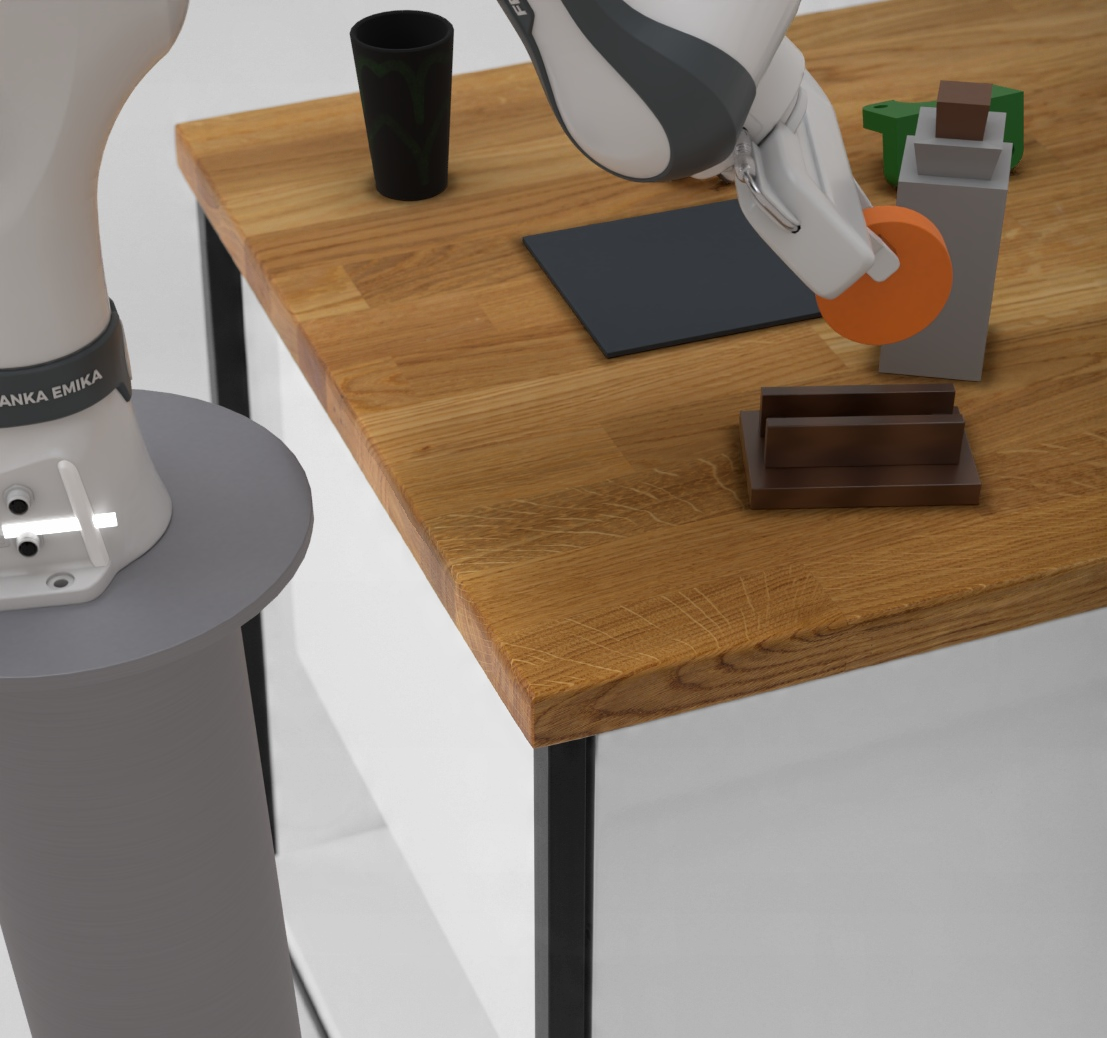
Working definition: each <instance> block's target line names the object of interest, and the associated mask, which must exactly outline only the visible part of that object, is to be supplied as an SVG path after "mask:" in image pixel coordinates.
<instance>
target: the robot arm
mask: <svg viewBox="0 0 1107 1038" xmlns="http://www.w3.org/2000/svg"><path fill="white" fill-rule="evenodd" d="M190 2H191V0H0V612H1V611H11V610H22V609H32V608H42V607H53V606H63V605H73V604H82V603H87V602H90V601H93V600H95V599H96V598H98V597H99V596H100V595H101V594H102V593H103V592H104V591H105V590H106V588H107V587H108V586H109V584H110V583H111V581H112V580H113V578H114V577H115V575H116V574H117V573H118V572H119V571H120V570H121V569H123V568H124V567H125V566H127V565H128V564H130V563H131V562H133V561H134V560H136V559H137V558H139V557H140V556H142V555H143V554H144V553H146V552H147V551H148V550H149V549H150V548H151V547H152V546H153V545H155V544H156V542H157V541H158V540H159V539H160V538H161V537H162V535H163V534H164V532H165V531H166V529H167V527H168V525H169V523H170V520H171V516H172V501H171V497H170V495H169V492H168V491H167V489H166V487H165V485H164V484H163V482H162V480H161V478H160V476H159V474H158V472H157V470H156V469H155V466H154V464H153V462H152V459H151V457H150V455H149V452H148V450H147V447H146V444H145V442H144V439H143V436H142V434H141V431H140V428H139V425H138V422H137V418H136V415H135V412H134V409H133V406H132V402H131V397H132V389H133V386H132V381H133V373H132V366H131V360H130V354H129V349H128V344H127V343H128V342H127V338H126V334H125V333H126V332H125V328H124V324H123V321H122V319H121V318H120V315H119V313H118V310H117V308H116V307H117V306H116V304H115V302H114V300H113V299H112V298H111V297H110V296H109V291H108V286H107V280H106V272H105V266H104V258H103V252H102V251H103V250H102V240H101V233H100V231H101V230H100V217H99V205H98V203H99V202H98V193H99V192H98V191H99V190H98V189H99V177H100V170H101V166H102V162H103V159H104V158H103V157H104V154H105V149H106V146H107V144H108V140H109V137H110V135H111V133H112V130H113V128H114V126H115V124H116V121H117V119H118V118H119V115H120V114H121V111H122V110H123V108H124V106H125V104H126V103H127V101H128V100H129V98H130V97H131V94H132V93H133V92H134V91H135V89H136V87H137V86H138V85H139V84H140V82H142V80H143V79H144V78H145V77H146V76H147V74H148V73H149V72H150V71H151V70H152V69H153V68H154V67H155V66H156V65H157V64H158V63H159V62H160V61H161V60H162V59H164V57H165V56H167V55H168V54H169V52H170V51H171V49H172V48H173V46H174V45H175V43H176V42H177V40H178V38H179V36H180V34H181V32H182V30H183V27H184V24H185V22H186V19H187V15H188V11H189V7H190ZM496 2H497V3H498V6H499V7H500V9H501V10H502V12H503V13H504V15H505V16H506V17H507V20H508V21H509V22H510V24H511V26H512V27H513V29H514V31H515V32H516V34H517V36H518V37H519V40H520V41H521V43H522V45H523V46H524V49H525V50H526V52H527V54H528V57H529V59H530V60H531V64H532V65H533V68H534V70H535V73H536V76H537V78H538V80H539V83H540V85H541V88H542V90H543V93H544V95H545V98H546V99H547V102H548V104H549V106H550V108H551V111H552V113H553V115H554V117H555V119H556V120H557V122H558V124H559V125H560V127H561V129H562V130H563V133H565V135H566V137H567V138H568V139H569V140H570V142H571V143H572V145H573V146H574V147H575V148H576V149H577V150H578V151H579V152H580V153H581V154H582V155H583V156H584V157H585V158H586V159H587V160H589V161H590V162H591V163H592V164H595V166H597V167H598V168H600V169H601V170H603V171H605V172H607V173H608V174H610V175H612V176H615V177H617V178H620V179H622V180H625V181H627V182H628V181H629V182H632V183H639V184H640V183H641V184H645V183H646V184H651V183H664V182H665V183H666V182H670V181H671V182H672V181H676V180H682V179H685V178H688V177H691V178H693V179H696V180H707V179H710V178H712V177H715V176H716V177H717V175H718V174H720V173H721V174H722V175H723V176H724V177H725V178H726V179H728V180H731V181H732V182H734V185H735V191H736V196H737V199H738V201H739V205H740V207H741V210H742V212H743V214H744V215H745V217H746V219H747V220H748V221H749V223H750V224H751V226H752V227H753V228H754V229H755V231H756V232H757V233H758V234H759V235H760V237H761V238H762V239H763V240H764V241H765V242H766V243H767V244H768V245H769V247H770V248H771V249H772V250H773V251H774V252H775V253H776V254H777V255H778V256H779V257H780V258H781V259H782V260H783V262H784V263H785V264H786V265H787V266H788V267H789V268H790V269H791V270H792V271H793V272H794V273H795V274H796V275H797V276H798V277H799V278H800V279H801V280H802V281H803V282H804V283H805V284H806V285H807V286H808V287H809V288H810V289H811V290H812V291H813V292H814V293H815V294H817V295H818V296H820V297H822V298H825V299H828V300H832V299H835V298H836V297H838V296H839V295H840V294H842V293H843V292H844V291H845V290H847V289H848V288H849V287H850V286H852V285H853V284H854V283H855V282H856V281H857V280H858V279H860V278H861V277H862V276H863V275H864V274H865V273H867V274H868V275H869V276H870V277H871V278H872V279H873V280H874V281H877V282H882V281H885V280H886V279H887V278H888V277H889V276H890V275H892V274H893V273H894V272H895V271H896V270H898V268H899V266H900V262H899V259H898V255H897V252H896V249H895V248H894V247H893V246H892V245H890V244H889V242H888V241H887V240H886V239H885V238H884V237H883V236H882V235H881V234H879V235H878V236H877V235H876V234H875V233H874V232H873V231H871V230H870V229H869V228H868V227H867V225H866V222H865V218H864V215H863V211H862V210H864V209H867V208H871V207H874V206H873V204H872V202H871V200H869V198H868V196H867V195H866V193H865V192H864V190H863V188H862V187H861V186H860V184H859V183H858V181H857V180H856V179H855V177H854V176H853V175H854V174H853V171H852V168H851V164H850V160H849V157H848V154H847V153H848V152H847V150H846V147H845V143H844V139H843V135H842V132H841V128H840V124H839V120H838V117H837V113H836V111H835V109H834V108H835V107H834V106H833V104H832V102H831V100H830V99H829V98H828V96H827V95H826V93H825V92H824V90H823V89H822V87H821V86H820V84H819V83H818V82H817V80H816V79H815V78H814V77H813V75H812V74H811V73H810V72H809V71H808V69H807V68H806V60H805V56H804V54H803V53H802V51H801V50H800V49H799V48H798V47H797V46H796V45H795V43H793V41H791V40H790V39H789V37H788V36H786V35H787V33H788V31H789V29H790V27H791V26H792V23H793V21H795V17H797V14H798V11H799V8H800V5H801V2H802V0H496Z"/></svg>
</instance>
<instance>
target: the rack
mask: <svg viewBox="0 0 1107 1038" xmlns="http://www.w3.org/2000/svg"><path fill="white" fill-rule="evenodd" d="M759 395H760V396H759V397H760V398H759V410H757V409H756V410H754V409H752V410H751V409H750V410H740V411H739V417H738V435H739V441H740V447H741V453H742V454H741V455H742V461H743V467H744V474H745V481H746V487H747V494H748V501H749V507H750V510H774V509H775V510H776V509H781V510H782V509H819V508H820V509H823V508H824V509H825V508H864V507H865V508H866V507H868V508H870V507H871V508H872V507H873V508H874V507H910V506H911V507H913V506H914V507H915V506H916V507H917V506H919V507H920V506H961V505H963V506H964V505H979V504H980V497H981V491H982V490H981V489H982V482H981V478H980V474H979V471H978V468H977V464H976V461H975V459H974V455H973V452H972V448H971V445H970V441H969V438H968V434H967V431H966V429H965V425H966V422H965V418H964V414H963V413H961V412H960V408H959V406H958V405H955V402H956V401H955V400H956V388H955V384H954V383H953V382H941V383H940V382H936V383H932V382H931V383H893V384H890V383H889V384H848V385H846V384H844V385H843V384H842V385H840V384H839V385H800V386H799V385H795V386H793V385H792V386H761V387H760V394H759Z"/></svg>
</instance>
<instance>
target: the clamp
mask: <svg viewBox="0 0 1107 1038" xmlns="http://www.w3.org/2000/svg"><path fill="white" fill-rule="evenodd" d="M987 83H988V82H987ZM988 84H990V83H988ZM992 84H993V86H992V94H991V102H990V108H989V112H1003V113H1006V120H1005V129H1004V138H1003V142H1006V143H1013V146H1012V155H1011V165H1010V170H1012V169H1014V168H1015V167H1016V166H1017V165H1018V164H1019V163H1020V161H1022V158H1023V155H1024V150H1025V106H1024V105H1025V91H1024V90H1020V89H1016V88H1011V87H1007V86H1003V85H999V84H998V85H997V84H994V83H992ZM936 106H937V100H930V101H918V102H905V101H904V102H903V101H898V100H895V99H890V100H885V101H880V102H876V103H871V104H867V105H864V106H863V107H862V128H863V129H865V130H868V131H872V132H876V133H879V134H881V136H882V163H883V166H882V167H883V176H884V179H885V180H886V182H887V183H888V184H889V185H890V186H892V187H894V188H895V187H896V188H898V181H899V175H900V170H901V165H902V160H903V155H904V149H905V144H906V139H907V135H911V136H915V134H916V129H917V123H918V118H919V112H920V107H933V108H936Z"/></svg>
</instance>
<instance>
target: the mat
mask: <svg viewBox="0 0 1107 1038" xmlns="http://www.w3.org/2000/svg"><path fill="white" fill-rule="evenodd" d="M521 239H522V243H523V244H524V245H525V247H526V248H527V250H528V252H530V254H531V255H532V257H533V258H534V259H535V260H536V261H535V262H537V263H538V265H539V266H540V268H541V269H542V271H543V272H544V273H545V274H546V276H547V277H548V279H549V280H550V281H551V283H552V284H553V285H554V287H555V288H556V290H557V291H558V292H559V294H560V296H562V298H563V299H564V300H565V303H567V306H568V307H570V309H571V311H572V312H573V313H574V314H575V316H576V318H577V319H578V320H579V321H580V323H581V324H582V326H583V327H584V328H585V329H586V331H587V332H588V334H589V335H590V336H591V338H592V339H593V341H594V342H595V344H596V345H597V346H598V348H599V349H600V351H601V352H602V353H603V354H604V356H605V358H607V359H610V358H614V357H621V356H625V355H630V354H635V353H636V354H637V353H640V352H645V351H651V350H656V349H661V348H665V347H671V346H672V347H673V346H676V345H683V344H686V343H693V342H697V341H703V340H707V339H713V338H718V337H722V336H723V337H724V336H728V335H732V334H738V333H743V332H748V331H754V330H759V329H763V328H770V327H774V326H781V325H784V324H790V323H794V322H800V321H805V320H811V319H816V318H822V317H823V316H822V314H821V312H820V310H819V308H818V304H817V300H816V296H815V293H814V292H813V291H812V290H811V289H810V288H809V287H808V286H807V285H806V284H805V283H804V282H803V281H802V280H801V279H800V278H799V277H798V276H797V275H796V274H795V273H794V272H793V271H792V270H791V269H790V268H789V267H788V266H787V265H786V264H785V263H784V262H783V260H782V259H781V258H780V257H779V256H778V255H777V254H776V253H775V252H774V251H773V250H772V249H771V248H770V247H769V245H768V244H767V243H766V242H765V241H764V240H763V239H762V238H761V237H760V235H759V234H758V233H757V232H756V231H755V229H754V228H753V227H752V226H751V224H750V223H749V221H748V220H747V219H746V217H745V215H744V214H743V212H742V210H741V207H740V205H739V201H738V198H733V199H727V200H721V201H716V202H710V203H704V204H700V205H694V206H688V207H683V208H676V209H670V210H665V211H660V212H654V213H648V214H643V215H637V216H633V217H632V216H631V217H625V218H620V219H614V220H609V221H603V222H598V223H597V222H596V223H592V224H587V225H581V226H575V227H569V228H564V229H559V230H553V231H548V232H547V231H546V232H542V233H536V234H531V235H526V236H525V235H524V236H522V238H521Z"/></svg>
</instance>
